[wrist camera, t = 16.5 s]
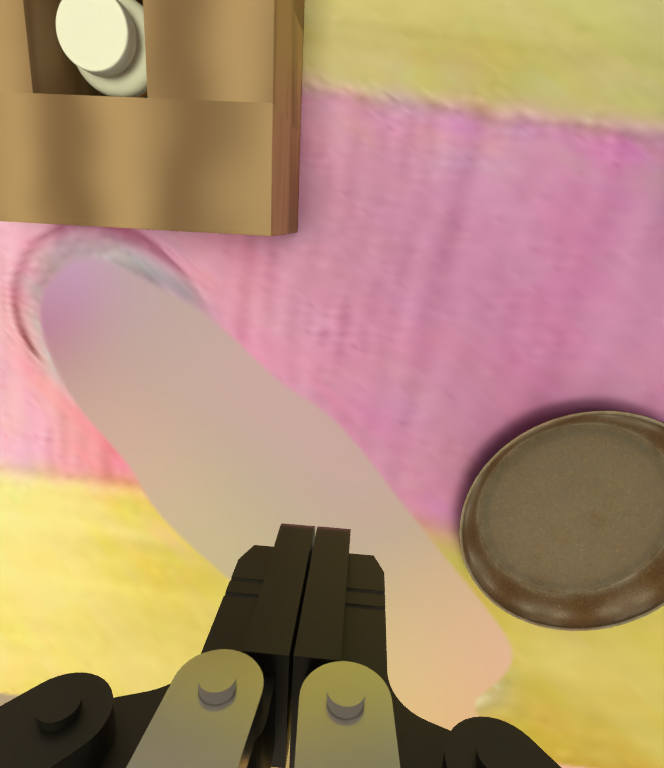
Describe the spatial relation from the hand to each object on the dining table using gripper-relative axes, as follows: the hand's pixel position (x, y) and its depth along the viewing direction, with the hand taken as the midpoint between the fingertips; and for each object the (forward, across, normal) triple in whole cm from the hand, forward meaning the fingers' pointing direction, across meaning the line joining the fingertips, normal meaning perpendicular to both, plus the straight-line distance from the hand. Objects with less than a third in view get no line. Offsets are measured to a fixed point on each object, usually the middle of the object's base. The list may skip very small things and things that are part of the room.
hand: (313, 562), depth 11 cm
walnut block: (+32, +15, -16) cm, 39 cm away
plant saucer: (+32, -20, +16) cm, 41 cm away
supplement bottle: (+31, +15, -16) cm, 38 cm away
